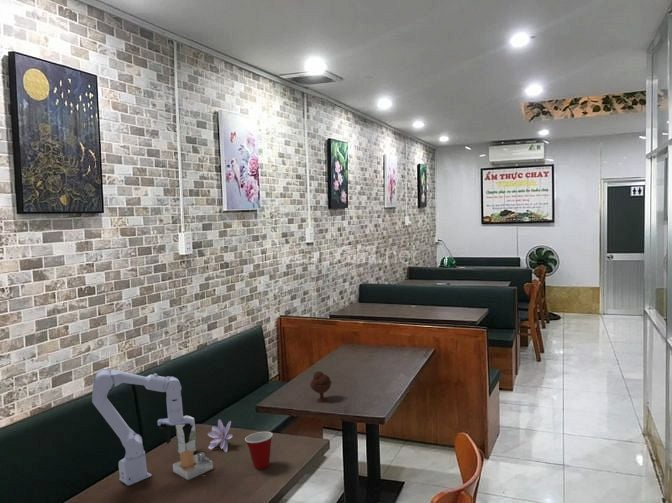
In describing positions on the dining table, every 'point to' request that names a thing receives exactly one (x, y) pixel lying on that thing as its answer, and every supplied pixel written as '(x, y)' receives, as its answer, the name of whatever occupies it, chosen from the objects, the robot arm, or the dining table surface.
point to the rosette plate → (194, 467)
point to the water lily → (220, 436)
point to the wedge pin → (187, 459)
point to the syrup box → (181, 439)
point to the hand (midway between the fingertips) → (177, 442)
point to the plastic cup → (260, 448)
